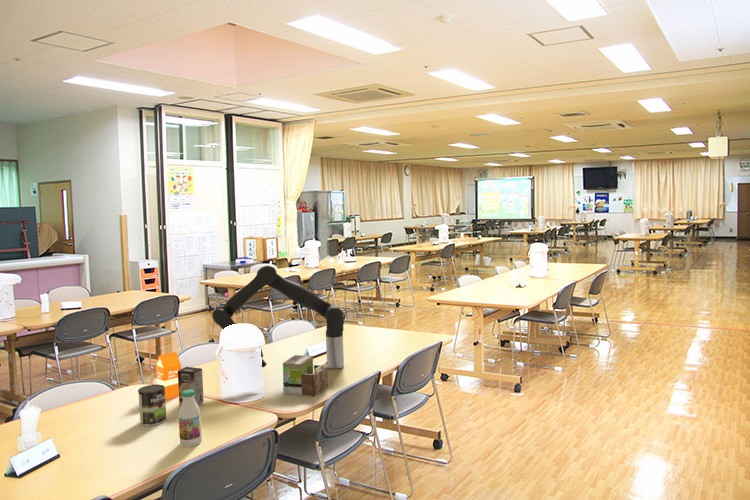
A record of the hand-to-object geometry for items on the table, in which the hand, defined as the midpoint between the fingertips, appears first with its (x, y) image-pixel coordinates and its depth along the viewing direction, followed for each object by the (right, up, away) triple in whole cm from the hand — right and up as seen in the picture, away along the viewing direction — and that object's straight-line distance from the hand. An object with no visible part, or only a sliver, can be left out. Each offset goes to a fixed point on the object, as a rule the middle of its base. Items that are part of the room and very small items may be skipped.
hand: (265, 366), depth 265 cm
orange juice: (-43, -12, -8) cm, 46 cm away
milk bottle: (-15, -16, -62) cm, 66 cm away
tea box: (+17, -10, -5) cm, 21 cm away
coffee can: (-38, -15, -40) cm, 57 cm away
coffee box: (-29, -13, -21) cm, 38 cm away
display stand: (+25, -10, -7) cm, 28 cm away
